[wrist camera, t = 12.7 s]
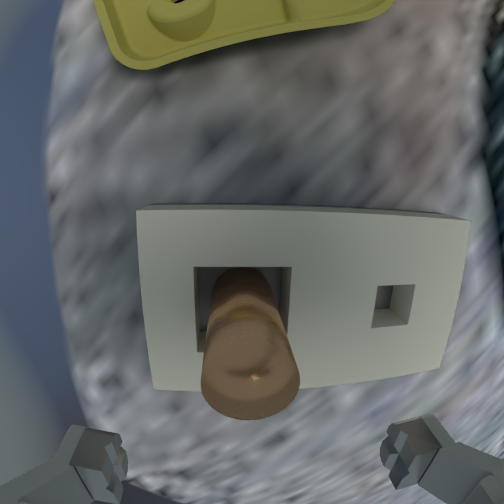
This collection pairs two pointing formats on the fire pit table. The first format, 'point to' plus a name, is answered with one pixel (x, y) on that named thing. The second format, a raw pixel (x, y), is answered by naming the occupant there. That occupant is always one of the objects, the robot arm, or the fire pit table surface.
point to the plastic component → (214, 24)
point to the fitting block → (305, 285)
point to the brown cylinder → (247, 349)
